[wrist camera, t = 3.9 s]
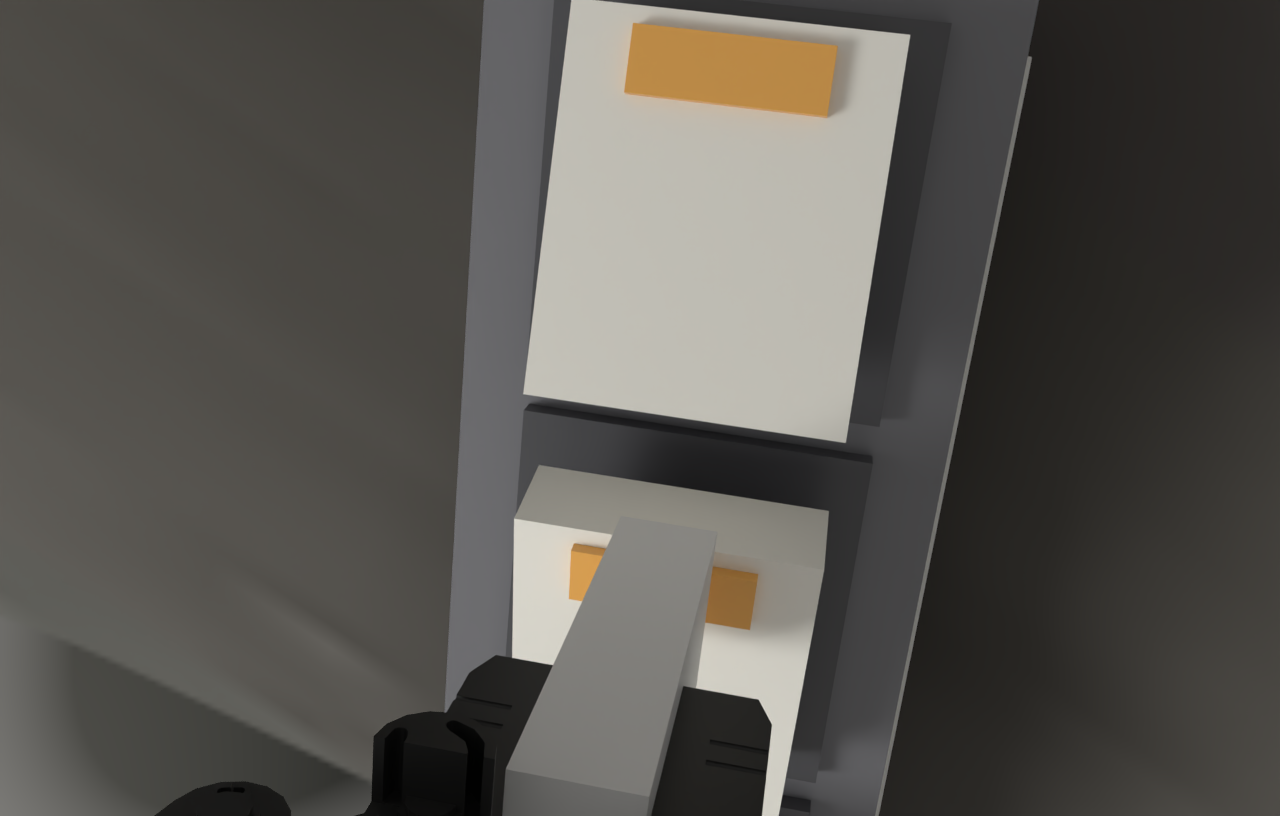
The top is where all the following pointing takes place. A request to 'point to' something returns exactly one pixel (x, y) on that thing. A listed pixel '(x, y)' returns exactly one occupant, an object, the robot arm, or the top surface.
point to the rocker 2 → (738, 597)
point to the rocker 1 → (713, 216)
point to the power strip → (742, 457)
